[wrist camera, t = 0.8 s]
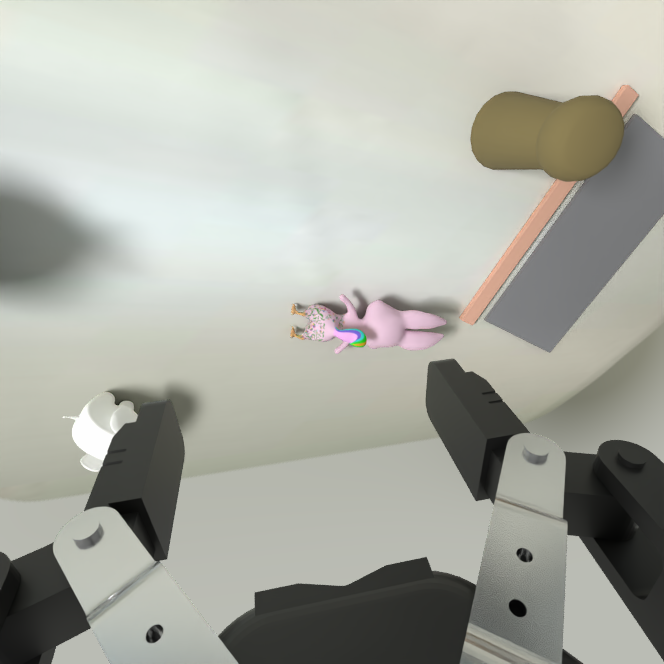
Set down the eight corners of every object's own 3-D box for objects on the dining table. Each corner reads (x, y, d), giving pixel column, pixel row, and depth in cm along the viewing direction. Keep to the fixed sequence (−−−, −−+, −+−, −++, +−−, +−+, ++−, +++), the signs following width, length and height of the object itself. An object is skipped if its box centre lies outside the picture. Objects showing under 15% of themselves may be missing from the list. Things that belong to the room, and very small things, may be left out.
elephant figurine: (140, 446, 44) (126, 491, 39) (61, 415, 41) (35, 460, 36) (173, 401, 43) (163, 442, 37) (93, 366, 39) (71, 405, 34)
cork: (544, 146, 37) (647, 161, 28) (482, 182, 38) (563, 209, 28) (527, 75, 34) (637, 65, 25) (461, 116, 35) (543, 120, 25)
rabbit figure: (291, 339, 43) (435, 348, 44) (286, 371, 38) (450, 380, 39) (293, 282, 40) (447, 292, 41) (288, 308, 35) (465, 319, 36)
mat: (633, 114, 37) (637, 114, 37) (695, 170, 41) (698, 170, 41) (484, 319, 45) (486, 321, 44) (547, 350, 48) (549, 352, 48)
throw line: (622, 85, 36) (628, 84, 35) (633, 95, 36) (638, 95, 36) (459, 317, 44) (461, 320, 44) (469, 322, 45) (472, 325, 44)
